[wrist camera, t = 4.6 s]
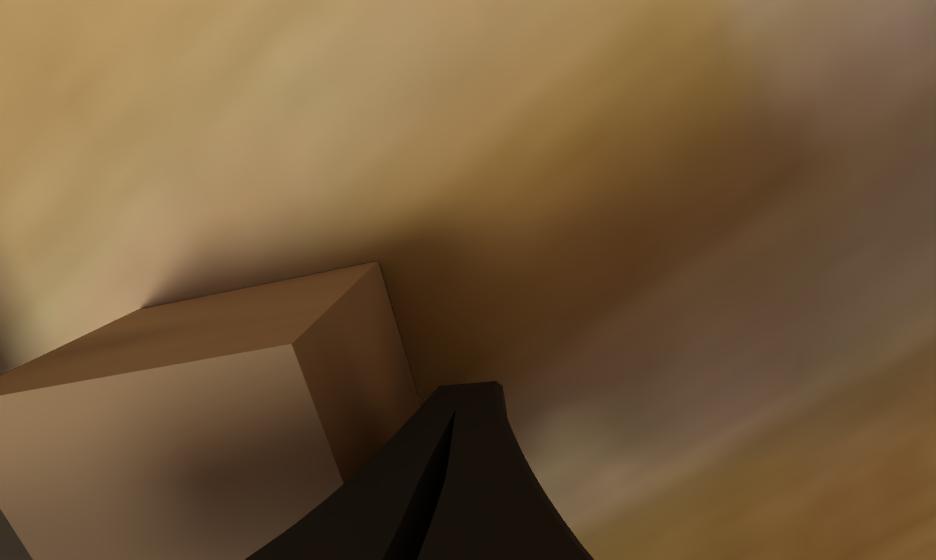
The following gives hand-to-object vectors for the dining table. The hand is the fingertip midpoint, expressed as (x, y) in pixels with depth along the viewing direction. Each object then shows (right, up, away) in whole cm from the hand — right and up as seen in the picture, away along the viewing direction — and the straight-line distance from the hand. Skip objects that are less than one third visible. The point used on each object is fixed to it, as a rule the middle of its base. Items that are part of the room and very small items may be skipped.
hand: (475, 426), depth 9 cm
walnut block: (-4, 0, +2) cm, 5 cm away
